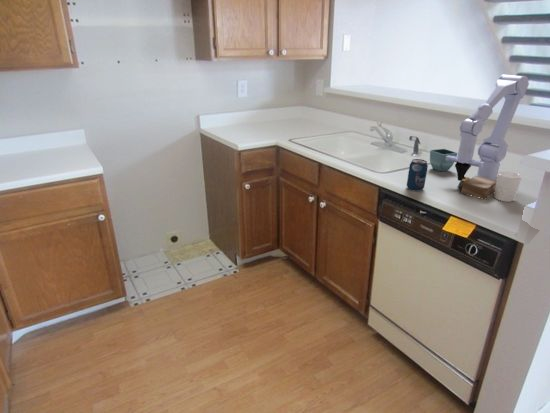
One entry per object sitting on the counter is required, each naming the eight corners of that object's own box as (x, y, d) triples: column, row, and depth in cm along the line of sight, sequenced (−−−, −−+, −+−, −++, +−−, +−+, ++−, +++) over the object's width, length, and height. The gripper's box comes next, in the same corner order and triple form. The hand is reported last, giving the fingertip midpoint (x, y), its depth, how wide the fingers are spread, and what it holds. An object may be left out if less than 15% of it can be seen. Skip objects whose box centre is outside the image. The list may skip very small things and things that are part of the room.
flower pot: (440, 166, 188) (444, 148, 184) (454, 171, 180) (458, 152, 177) (426, 168, 185) (429, 149, 181) (439, 173, 177) (443, 154, 174)
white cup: (507, 194, 153) (513, 171, 149) (519, 202, 146) (526, 177, 142) (488, 195, 153) (493, 171, 149) (499, 202, 145) (505, 177, 141)
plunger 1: (461, 187, 159) (462, 179, 157) (486, 194, 152) (488, 185, 151) (457, 190, 156) (459, 181, 155) (482, 196, 150) (484, 187, 149)
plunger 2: (463, 183, 163) (465, 175, 162) (488, 189, 157) (490, 181, 156) (460, 185, 161) (462, 177, 160) (484, 191, 155) (486, 183, 153)
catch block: (473, 185, 162) (475, 175, 161) (496, 191, 156) (498, 180, 155) (461, 193, 154) (463, 182, 152) (484, 199, 148) (487, 188, 146)
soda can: (417, 193, 154) (421, 164, 150) (402, 188, 160) (406, 160, 155) (427, 189, 158) (432, 161, 153) (412, 184, 163) (417, 157, 159)
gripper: (445, 147, 159) (439, 178, 165) (481, 154, 150) (474, 186, 155) (452, 144, 164) (446, 174, 169) (488, 150, 154) (480, 182, 159)
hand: (460, 180), depth 162 cm, fingers closed
